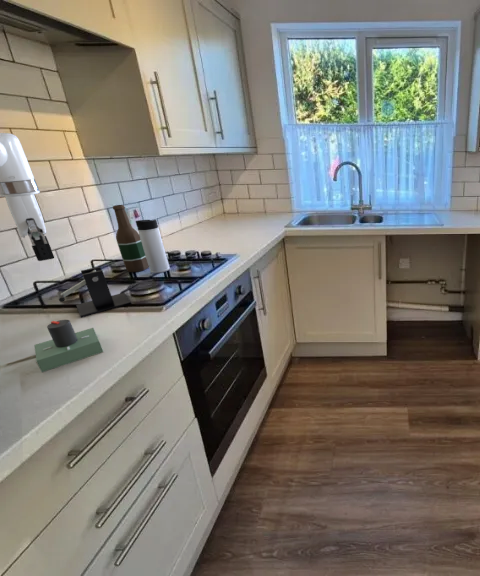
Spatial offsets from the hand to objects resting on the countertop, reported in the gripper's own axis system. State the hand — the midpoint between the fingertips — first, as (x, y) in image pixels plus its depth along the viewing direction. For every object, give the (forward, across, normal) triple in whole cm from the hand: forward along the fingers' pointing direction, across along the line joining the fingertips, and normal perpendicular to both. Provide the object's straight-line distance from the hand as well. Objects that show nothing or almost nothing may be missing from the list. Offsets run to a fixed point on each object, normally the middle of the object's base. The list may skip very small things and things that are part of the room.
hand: (45, 255), depth 94 cm
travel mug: (+18, -21, +28) cm, 40 cm away
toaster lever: (+11, 0, +5) cm, 12 cm away
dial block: (+18, +24, -2) cm, 30 cm away
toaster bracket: (+18, 0, +8) cm, 20 cm away
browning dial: (+15, +24, -2) cm, 29 cm away
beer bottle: (+18, -32, +23) cm, 44 cm away
